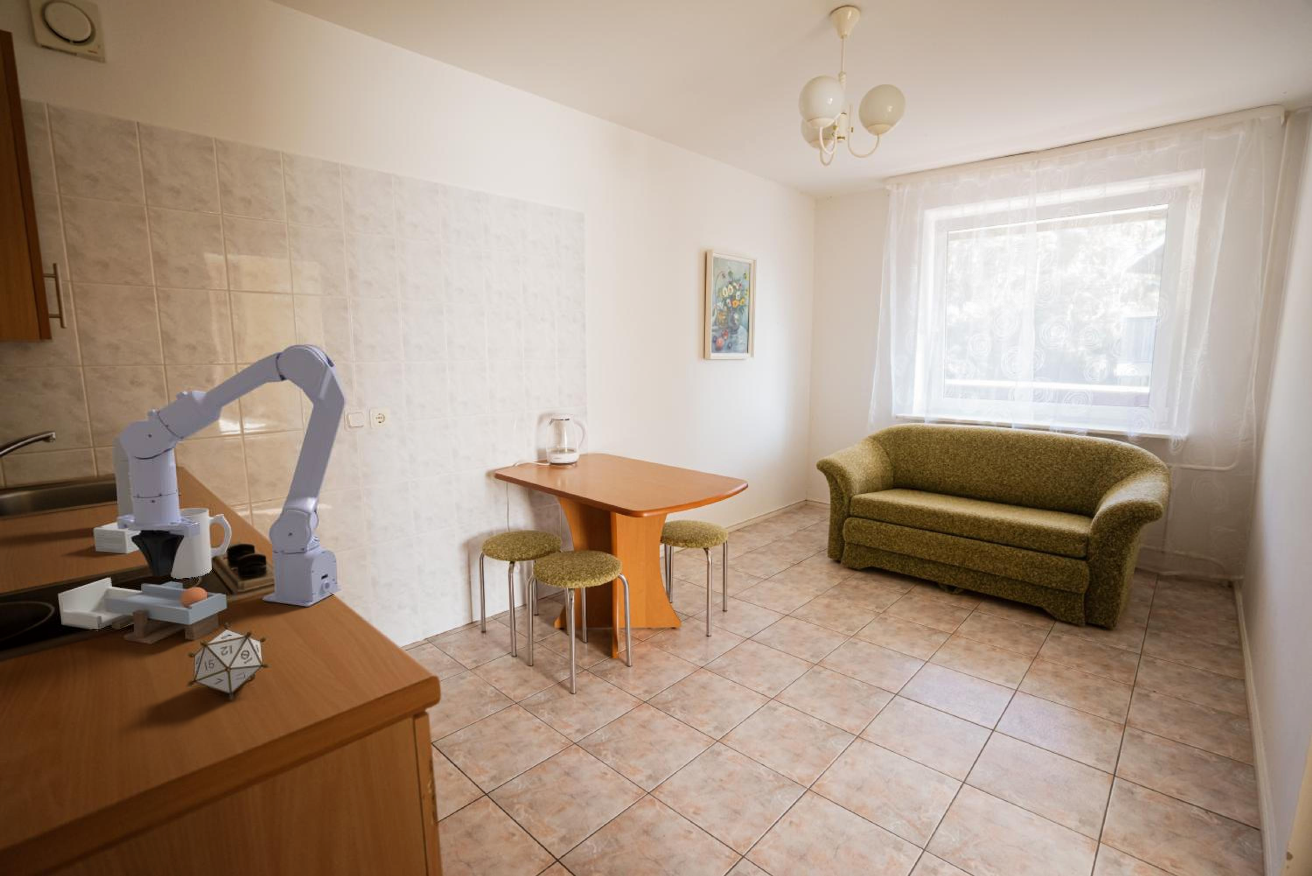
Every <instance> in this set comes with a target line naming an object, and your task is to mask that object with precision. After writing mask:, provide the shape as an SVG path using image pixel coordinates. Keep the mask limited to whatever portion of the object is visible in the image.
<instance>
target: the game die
mask: <svg viewBox="0 0 1312 876" xmlns="http://www.w3.org/2000/svg"><path fill="white" fill-rule="evenodd" d="M223 626H224V627H223V628H224V629H223V631H221V632H219V633H218V634H217V635H216V636H214V637H213V638H212V639H210V640H209V641H208V642H207V641H205V640H201V641H199V645H200V646H201V648H200V649H199V650H198V651H197V652H196V653H192V652H190V653H188V654H187V656H188V658H193V680H190V681H188V682H187V684H186V687H192V686H193V685H194V684H198V685H202V686H205V687H204V688H205V690H206V691H207V690H211V689H214V690H217V691H219V692H222V693H226V694H228V697H227V698H228V699H229V700H230V701H231V702H232V701H233V699H234V694H233V693H234V692H235V691H237V690H238V689H239V688H240V687H241V686H242V685H243V684H244V683H246V682H247V681H248V680H249V679H251V680H253V679H256V675H255V674H256V673H257V672H259V670H260V669H261V668H263V669H268V668H269V667H270V665H269V664H268V663H263V661H264V660H263V651H262V643H264V642H266V640H267V637H262V638H260V640H259V639H257V638H254V637H252V634H253V632H252V630H250V631H247V633H246V634H244V633H242V632H239V631H236V630H233V629H230V628H229V627H230V624H229V623H228V622H225V624H224V625H223Z"/></svg>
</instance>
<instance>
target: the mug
mask: <svg viewBox="0 0 1312 876" xmlns="http://www.w3.org/2000/svg"><path fill="white" fill-rule="evenodd" d="M179 510H180V516H181V517H183V518H186V519H188V520H191V521H193V522H199V523H200V534H199V535H195V536H192V537H184V539H183V540H182V542H181V544H180V546H179V548H178V550H177V553H176V557H175V561H174V565H173V569H172V573H170V576H171V578H172V577H173V578H172V579H175V578H176V580H184V579H183V578H189V579H194V577H195V578H199V577H202V576H205V574H206V575H207V573H208V574H210V573H211V572H212V571H211V570H212V569H213V568H212V567H213V565H212V559H213V558H214V557H216V556H222V555H224V554H226V553H227V549H228V547H229V545H230V541H231V540H232V527H231V525H230V523H229V522H228V520H227V519H226V517H225V516H224V514H223V513H220V514H216V515H214V516H212V517H211V516H210V513H209V511H210V509H208V508H202V507H193V508H192V507H189V508H181V509H179ZM213 524H219V525H221V527H223V530H224V538H223V542H222V543H221V545H220V546H219V547H212V546H211V531H210V529H211V528H210V527H211V525H213ZM210 571H211V572H210ZM198 576H199V577H198ZM191 577H193V578H191Z"/></svg>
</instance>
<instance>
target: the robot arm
mask: <svg viewBox="0 0 1312 876" xmlns="http://www.w3.org/2000/svg"><path fill="white" fill-rule="evenodd" d="M284 381H290V382H291V383H292V384H293V385H295V386H296V387H299V389H301V390H302V392H303V393H304V394H305V396H306V397H307V398H308V400H309V401H310V402H311V403H312V405H313V406H312V410H311V414H310V418H309V421H308V424H307V427H306V431H305V434H304V437H303V442H302V445H301V449H300V452H299V456H298V459H297V462H296V466H295V469H294V474H293V477H292V480H291V483H290V487H289V491H288V494H287V496H286V499H285V501H284V503H283V506H282V510H281V512H280V514H279V516H278V517H277V519H276V520H275V521H274V522H273V523H272V524H271V526H270V528H269V531H268V538H269V539H268V540H269V541H270V543H271V545H272V546H271V549H272V550H271V551H272V566H273V578H274V579H273V580H274V581H273V582H274V592H272V593H270V594H267V595H265V596H263V597H262V601H265V602H271V603H273V602H274V603H280V604H285V605H286V604H288V605H294V606H300V607H301V606H302V607H310V606H312V605H314V604H316V603H318V602H320V601H321V600H323V599H326V598H328V597H330V596H331V595H333V594H335V593H337V592H339V591H341V590H342V587H341V586H339V584H338V583H339V582H338V567H337V558H336V555H335V553H334V552H333V551H332V550H330V549H327V548H324V546H322V544H321V542H320V538H319V537H318V536H317V535H316V534H315V533H314V532H315V530H316V529H317V527H318V526H319V522H320V517H319V512H318V504H319V502H320V495H321V491H322V487H323V483H324V480H325V477H326V473H327V471H328V470H327V469H328V466H329V463H330V459H331V455H332V453H333V450H334V449H333V448H334V445H335V441H336V438H337V435H338V432H339V428H340V425H341V422H342V421H341V420H342V418H343V415H344V411H345V408H346V407H345V406H346V404H347V395H346V392H345V390H344V388H343V385H342V382H341V380H340V377H339V375H338V372H337V368H336V366H335V363H334V361H333V360H332V359H331V358H330V357H329V355H328V354H327V353H326V352H325V351H324V350H323V349H322V348H320V347H319V346H317V345H313V344H307V343H306V344H293V345H290V346H288V347H286V348H284V349H283V350H282V351H277V352H275V353H273V354H272V353H271V354H270V355H268V356H265V357H263V358H261V359H259V360H257V361H255V362H254V363H252V364H250V365H248V366H247V367H246V368H244V369H242V370H240V371H239V372H237V373H235V374H234V375H233V376H231V377H229V378H228V379H227V380H225V381H223V382H221V383H220V384H218V385H217V386H215V387H214V388H212V389H210V390H209V391H202V390H197V389H194V390H191V391H189V392H187V391H186V390H185V391H184V390H183V391H181V392H179V393H177V394H176V395H175V398H176V399H175V400H174V401H172V402H170V403H168V404H167V405H165V406H163V407H161V408H160V409H158V410H157V409H151V410H150V411H148V412H146V415H147V416H148V418H146V419H141V420H135V421H131V422H130V423H129V425H127V426H126V427H125V428H124V429H123V430H122V431H121V433H120V435H121V436H120V443H121V446H122V448H123V449H124V450H125V451H126V452H127V453H128V455H129V465H130V467H129V470H130V480H131V491H132V500H133V510H134V515H125V516H121V517H119V516H118V517H116V522H117V526H118V529H126V528H128V530H130V531H141V533H139V535H135V536H132V537H131V540H132V542H133V543H134V544H135V545H136V546H137V547H138V548H139V551H140V552H141V554H142V555H143V556H144V559H145V561H146V563H147V566H148V567H149V569H150V571H151V573H152V576H153V577H158V578H161V577H163V576H168V575H171V573H172V569H173V565H174V561H175V557H176V553H177V550H178V548H179V546H180V544H181V542H182V540H183V539H184V537H192V536H195V535H199V534H200V523H199V522H193V521H191V520H188V519H186V518H183V517H181V516H180V510H181V509H180V500H179V499H180V498H179V489H178V479H177V477H178V476H177V466H176V460H175V451H174V450H175V449H174V448H175V447H176V446H177V445H178V444H179V442H182V441H184V440H185V441H186V440H187V439H188V438H190V437H191V436H193V435H195V434H196V433H199V431H201V430H203V429H205V428H207V427H208V426H210V425H212V424H213V423H216V422H217V421H218V420H220V419H221V416H222V414H221V413H222V409H223V407H225V406H228V405H229V404H231V403H233V402H234V401H236V400H237V399H239V398H241V397H243V396H246V395H247V394H249V393H251V392H253V391H254V390H256V389H258V388H259V387H262V386H263V385H265V384H268V383H280V382H284ZM325 588H326V589H325ZM327 590H328V591H329V592H331V593H332V594H330V593H329V592H328V591H327Z"/></svg>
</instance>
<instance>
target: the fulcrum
mask: <svg viewBox="0 0 1312 876" xmlns="http://www.w3.org/2000/svg"><path fill="white" fill-rule="evenodd" d="M218 613H219V612H217V613H215V614H213V615H210V616H208V617H206V618H204V619H201V620H199V621H197V622H195V623H192V624H190V625H188V624H182V623H175V622H169V621H163V620H156V619H150V618H147V611H142V610H137V611H134V612H133V616H131V615H128V616H126V617H123V618H121V619H118V620H116V621H113V622H111V623H112V625H111V628H117V629H122V628H123V627H124V626H126V625H128V624H130V623H132V622H134V625H133V630H134V631H133V632H130V633H127V634H125V635H123V637H124V639H123V640H124V641H125V640H126V641H130V642H131V641H132V642H137V643H143V644H149V645H153V644H155V643H156V642H158V641H160V640H163V639H165V638H168V637H169V636H170V637H171V636H172V635H174V634H176V633H178V632H181V631H183V630H184V634H185V640H191V641H196V640H198V639H200V638H202V637H204V636H206V635H209V634H210V633H212V632H214V631H216V630H219V628H220V627H219V626H220V625H219V614H218ZM122 630H123V629H122Z"/></svg>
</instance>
